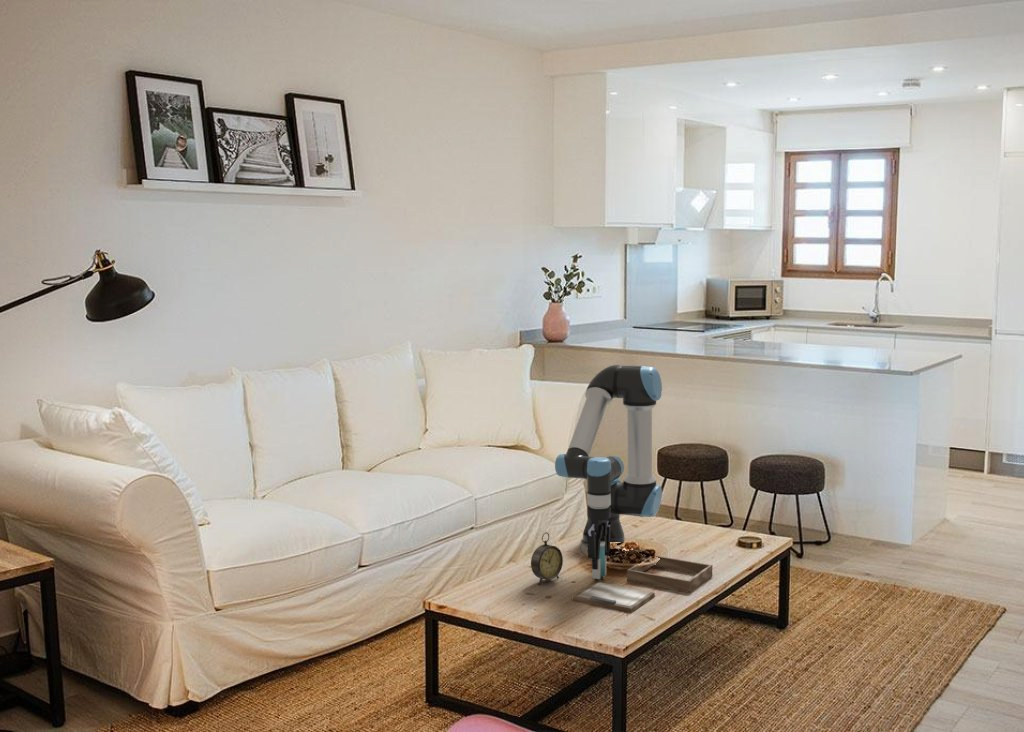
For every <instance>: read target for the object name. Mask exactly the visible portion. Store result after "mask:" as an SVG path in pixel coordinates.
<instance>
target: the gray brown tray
mask: <svg viewBox="0 0 1024 732" xmlns="http://www.w3.org/2000/svg"><path fill="white" fill-rule="evenodd" d="M656 557H658V558H660V560H659V561H658V562H657V563H656V565H655V566H654V567H657V568H664V569H669V570H675V571H680V572H686V573H691V574H695V575H694V576H692V577H691V578H689V579H688V580H687V579H684V578H683V579H682V578H677V577H671V576H666V575H659V574H655V573H648V572H645V571H647V570H649V569H650V568H651V567H638V565H636V564H635V565H633V566H631V567H630V568H628V569H627V570H626V581H627V582H631V583H632V582H633V583H637V584H644V585H648V586H654V587H659V588H665V589H669V590H673V591H674V590H675V591H679V592H680V591H681V592H684V593H685V592H686V593H691V592H692V591H693V590H695V589H696V588H697V587H699V586H700V585H702V584H703V583H704V582H706V581H707V580H708V579H709V578H712V576H713V564H707V563H701V562H696V561H691V560H685V559H680V558H679V559H678V558H674V557H673V558H672V557H667V556H660V555H656Z"/></svg>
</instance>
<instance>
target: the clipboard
mask: <svg viewBox="0 0 1024 732" xmlns="http://www.w3.org/2000/svg"><path fill="white" fill-rule="evenodd" d="M654 597H656V593H655V592H653V591H649V590H644V589H643V590H642V589H638V588H633V587H627V586H624V585H623V586H622V585H617V584H612V583H606V582H602V581H596V582H594V583H593V584H590V585H589V586H587V587H586V588H584V589H583V590H581V591H580V592H577V593H576V594H574V595H573V596H572V601H574V602H579V603H582V604H583V603H584V604H589V605H594V606H599V607H603V608H609V609H613V610H618V611H623V612H626V613H632V612H634V611H636V610H637V609H639V608H640V607H641V606H643V605H644V604H645V603H647V602H648V601H650V600H651V599H653V598H654Z"/></svg>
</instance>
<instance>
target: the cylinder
mask: <svg viewBox="0 0 1024 732" xmlns="http://www.w3.org/2000/svg"><path fill="white" fill-rule="evenodd" d="M599 559H600V579H595V578H594V581H596V582H602V581H604V577H605V542H604V541H600V551H599Z"/></svg>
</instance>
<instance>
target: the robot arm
mask: <svg viewBox="0 0 1024 732" xmlns="http://www.w3.org/2000/svg"><path fill="white" fill-rule="evenodd" d="M662 390H663V383H662V379H661V375H660V373H659V370H657V368H655V367H653V366H647V365H646V366H645V365H620V364H613V365H609V366H607V367H604V368H603V369H602V370H601V371H599V372H598V373H596V375H595V376H594V377H593V378H592V380H590V382H589V384H588V386H587V387H586V389H585V393H584V396H585V398H586V399H585V401H584V405H583V407H582V409H581V413H580V416H579V418H578V421H577V423H576V425H575V429H574V431H573V434H572V438H571V440H570V443H569V445H568V448H567V451H566V453H562V454H561V453H560V454H558V455H557V456H556V458H555V463H554V471H555V473H556V475H557V476H559V477H562V478H563V477H564V478H568V479H570V478H572V479H581V480H582V479H583V480H586V482H587V484H586V485H587V486H586V487H587V489H586V490H587V492H586V497H587V501H586V502H587V503H586V504H587V505H586V506H587V507H586V508H587V512H586V516H587V518H586V519H587V520H586V523H585V526H584V528H583V529H584V530H583V532H582V541H583V542H584V543H585V542H587V543H586V544H587V545H586V546H587V558H588V559H591V578H592V579H594V580H595V579H600V559H599V551H600V541H604V542H605V576H607V556H610V551H611V546H610V542H623V543H624V542H625V533H624V529H623V526H622V523H621V520H620V519H621V518H620V515H622V516H623V515H624V516H633V517H639V518H653V517H654V516H656V514H657V513H658V512H659V508H660V505H661V501H662V498H663V497H662V495H663V490H662V486H661V485H660V484H657V478H656V477H655V476H654V475H653V456H652V455H653V439H652V438H653V433H652V432H653V430H652V429H653V426H652V425H653V424H652V423H653V418H652V417H653V415H652V414H653V408H655V406H656V405H657V401H659V400H660V399H661V398H662ZM616 398H617V399H622V405H623V406H624V407H625V408H626V409H627V414H626V415H627V422H626V423H627V475H626V476H625V477H624V478H623V481H621V478H620V477H621V476H622V474H623V473H624V470H625V464H624V462H623V460H622V459H621V458H620V457H619V456H616V455H610V456H609V455H608V456H606V457H604V456H590V453H591V451H592V449H593V444H594V442H595V440H596V437H597V434H598V431H599V429H600V426H601V423H602V421H603V418H604V415H605V411H606V409H607V407H608V406H609V405H610V404H611V403H612V401H613V399H616ZM605 576H604V577H605Z"/></svg>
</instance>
